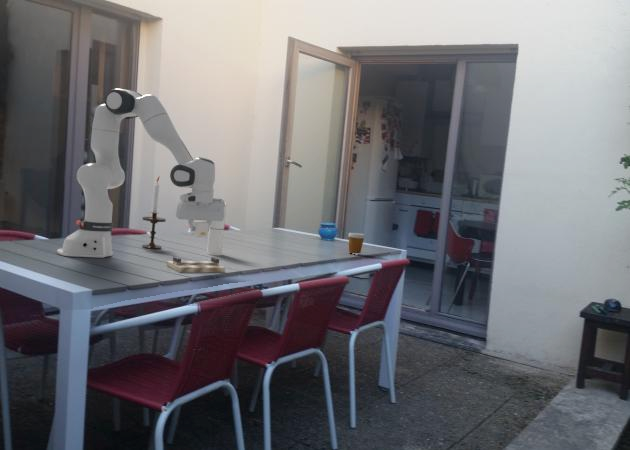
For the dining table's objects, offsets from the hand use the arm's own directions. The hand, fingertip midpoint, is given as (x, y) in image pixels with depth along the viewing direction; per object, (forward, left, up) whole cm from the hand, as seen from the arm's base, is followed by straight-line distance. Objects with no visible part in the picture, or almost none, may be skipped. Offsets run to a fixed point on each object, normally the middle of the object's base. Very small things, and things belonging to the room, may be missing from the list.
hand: (199, 231), depth 271 cm
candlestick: (0, +53, -16) cm, 55 cm away
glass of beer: (+116, +44, -16) cm, 125 cm away
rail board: (0, 0, -16) cm, 16 cm away
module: (0, 0, -2) cm, 2 cm away
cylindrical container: (+26, +38, -16) cm, 49 cm away
